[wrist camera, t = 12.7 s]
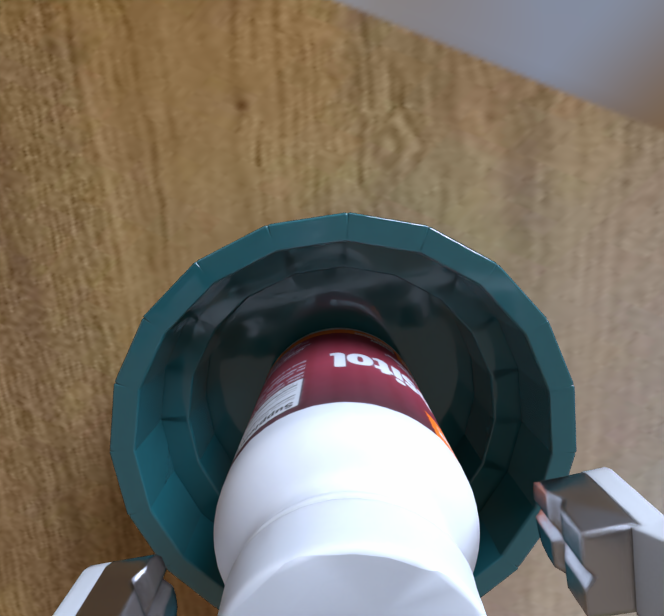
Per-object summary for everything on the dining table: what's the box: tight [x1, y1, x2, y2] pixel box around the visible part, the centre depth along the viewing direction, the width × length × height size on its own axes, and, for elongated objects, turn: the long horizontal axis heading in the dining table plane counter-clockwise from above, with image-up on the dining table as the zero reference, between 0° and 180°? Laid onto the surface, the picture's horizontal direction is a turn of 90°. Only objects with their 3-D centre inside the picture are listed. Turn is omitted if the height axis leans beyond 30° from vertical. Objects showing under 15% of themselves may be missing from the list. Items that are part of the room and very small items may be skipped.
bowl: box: [110, 212, 576, 610], centre depth 16 cm, size 15×15×5 cm
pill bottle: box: [214, 328, 487, 616], centre depth 12 cm, size 6×6×11 cm
